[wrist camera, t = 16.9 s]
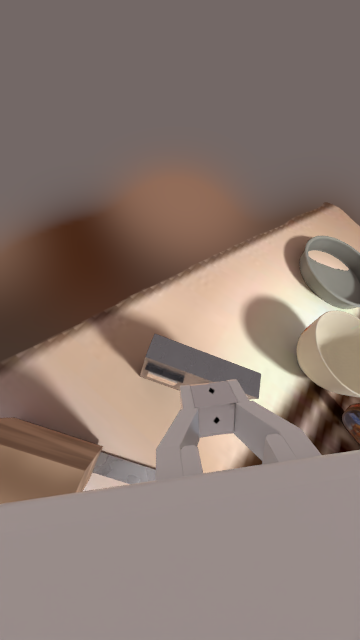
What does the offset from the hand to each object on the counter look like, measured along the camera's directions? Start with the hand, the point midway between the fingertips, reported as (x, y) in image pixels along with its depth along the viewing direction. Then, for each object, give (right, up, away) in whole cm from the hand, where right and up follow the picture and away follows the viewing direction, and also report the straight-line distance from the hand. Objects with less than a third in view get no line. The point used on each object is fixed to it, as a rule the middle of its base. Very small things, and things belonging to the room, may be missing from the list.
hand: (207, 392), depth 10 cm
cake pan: (+43, +16, +48) cm, 67 cm away
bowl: (+27, -6, +33) cm, 44 cm away
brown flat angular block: (-19, -14, +17) cm, 30 cm away
